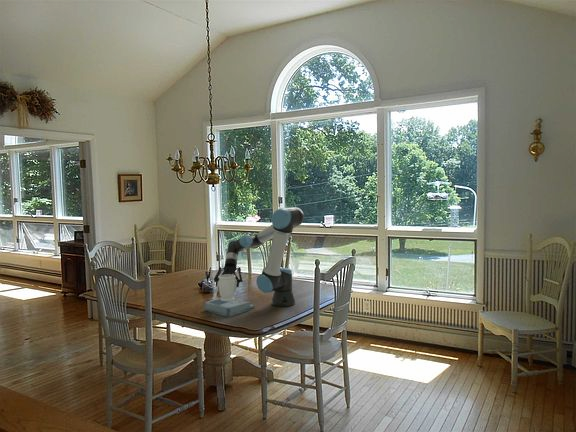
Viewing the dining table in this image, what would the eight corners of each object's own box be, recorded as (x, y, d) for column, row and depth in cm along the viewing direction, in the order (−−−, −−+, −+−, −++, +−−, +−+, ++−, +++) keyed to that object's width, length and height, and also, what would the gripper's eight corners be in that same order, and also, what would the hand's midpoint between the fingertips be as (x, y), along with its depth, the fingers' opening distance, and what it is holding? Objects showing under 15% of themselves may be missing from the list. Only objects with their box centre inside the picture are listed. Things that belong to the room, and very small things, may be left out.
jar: (219, 302, 264) (218, 278, 263) (218, 298, 274) (217, 274, 273) (236, 301, 266) (236, 277, 265) (235, 297, 276) (235, 273, 275)
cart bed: (256, 307, 273) (255, 300, 273) (228, 316, 255) (228, 308, 255) (232, 302, 287) (231, 294, 287) (204, 310, 270) (204, 302, 269)
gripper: (249, 264, 283) (245, 294, 268) (214, 264, 285) (209, 294, 271) (248, 257, 277) (243, 288, 263) (212, 257, 279) (206, 287, 265)
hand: (226, 291), depth 267 cm, fingers closed on jar, 10 cm apart
